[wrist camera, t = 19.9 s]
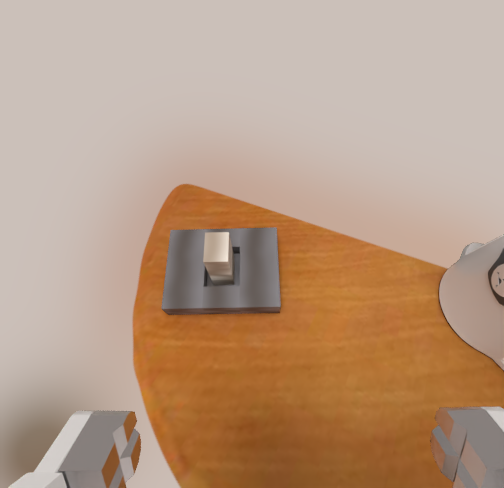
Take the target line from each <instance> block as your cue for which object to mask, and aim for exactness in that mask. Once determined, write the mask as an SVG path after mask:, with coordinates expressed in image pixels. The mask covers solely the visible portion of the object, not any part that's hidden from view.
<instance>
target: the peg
mask: <svg viewBox="0 0 504 488" xmlns="http://www.w3.org/2000/svg"><path fill="white" fill-rule="evenodd" d="M203 263H204V265H205V267H206V269H207V271H208V273H209V275H210V278H211V280H212V282H213V284H214V285H234V279H235V258H234V253H233V249H232V244H231V240H230V235H229V232H209V233H205V243H204V258H203Z"/></svg>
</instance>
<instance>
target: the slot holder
mask: <svg viewBox="0 0 504 488" xmlns="http://www.w3.org/2000/svg"><path fill="white" fill-rule="evenodd" d="M209 232H229V235H230V240H231V244H232V249H233V253H234V258H235V279H234V285H214V284H213V282H212V280H211V278H210V275H209V273H208V271H207V269H206V267H205V265H204V263H203V258H204V243H205V233H209ZM280 307H281V305H280V285H279V266H278V246H277V228H240V229H199V230H171V233H170V241H169V249H168V258H167V266H166V275H165V283H164V292H163V300H162V310H163V311H165V312H166V313H167V314H168V315H179V314H236V313H279V312H280Z"/></svg>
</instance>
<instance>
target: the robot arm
mask: <svg viewBox="0 0 504 488" xmlns="http://www.w3.org/2000/svg"><path fill="white" fill-rule="evenodd" d="M439 298H440V304H441V307H442V310H443V313H444V315H445V317H446V319H447V321H448V322H449V324H450V325H451V327H452V328H453V329H454V331H455V332H456V333H457V334H458V335H459V336H460V337H461V338H462V339H463V340H464V341H465V342H467V343H468V344H469V345H470V346H472V347H473V348H475V349H477V350H478V351H480V352H482V353H484V354H486V355H487V356H489V357H490V358H492V359H493V360H494V361H495V362H496V363H497V364H498V365H499V366H500V367H501V368H502V369H503V370H504V234H503V235H501V236H500V237H498V238H496V239H494V240H492V241H490V242H488V243H486V244H481V243H471V244H470V245H467V246H466V247H465V248H464V250H463V252H462V254H461V257H460V259H459V260H458V261H457V262H456V263H455V264H453V265H452V266H451V267H450V268H449V269H448V270H447V271H446V272H445V274H444V275H443V277H442V280H441V283H440V288H439ZM435 420H436V421H437V423H438V424H439V425H438V426H437V427H436V428H435V429H434V430H432V433H431V439H430V442H431V448H432V453H433V456H434V459H435V461H436V463H437V465H438V467H439V469H440V471H441V473H443V474H444V475H445V476H446V477H447V478H449V479H450V480H451V481H452V482H453V485H452V488H504V409H503V408H501V407H446V408H439V409H438V410H437V411H436V415H435ZM136 422H137V420H136V416H135V412H132V411H77V412H76V413H74V414H73V415H72V416H71V417H70V419H69V420H68V422H67V423H66V425H65V426H64V428H63V429H62V431H61V432H60V434H59V435H58V437H57V438H56V440H55V441H54V443H53V444H52V446H51V447H50V449H49V450H48V452H47V453H46V455H45V456H44V458H43V459H42V461H41V462H40V464H39V465H38V467H37V468H36V470H35V471H34V473H27V474H25V475H24V476H22V477H21V478H20V479H19V480H17V481H16V482H15V483H13V484H12V485H11V486H9V487H8V488H126V485H125V483H126V482H127V480H129V479H130V478H131V477H132V476H133V475H134V473H135V470H136V468H137V465H138V461H139V456H140V451H141V439H140V434H139V433H138V432H137V431H136V430H135V429H134V427H135V425H136Z"/></svg>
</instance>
